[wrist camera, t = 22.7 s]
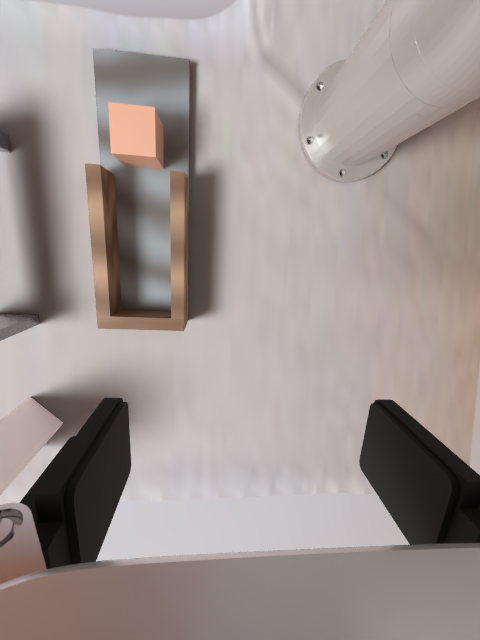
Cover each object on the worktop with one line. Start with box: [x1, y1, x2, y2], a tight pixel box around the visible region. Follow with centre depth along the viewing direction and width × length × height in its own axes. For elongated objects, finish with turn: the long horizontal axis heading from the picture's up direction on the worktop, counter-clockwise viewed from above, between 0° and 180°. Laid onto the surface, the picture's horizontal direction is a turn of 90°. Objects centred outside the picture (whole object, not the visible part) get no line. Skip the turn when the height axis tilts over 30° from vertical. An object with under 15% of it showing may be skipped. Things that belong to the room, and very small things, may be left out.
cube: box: [108, 102, 164, 169], centre depth 29 cm, size 4×4×4 cm
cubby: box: [85, 48, 190, 331], centre depth 31 cm, size 30×10×5 cm, turn 177°
